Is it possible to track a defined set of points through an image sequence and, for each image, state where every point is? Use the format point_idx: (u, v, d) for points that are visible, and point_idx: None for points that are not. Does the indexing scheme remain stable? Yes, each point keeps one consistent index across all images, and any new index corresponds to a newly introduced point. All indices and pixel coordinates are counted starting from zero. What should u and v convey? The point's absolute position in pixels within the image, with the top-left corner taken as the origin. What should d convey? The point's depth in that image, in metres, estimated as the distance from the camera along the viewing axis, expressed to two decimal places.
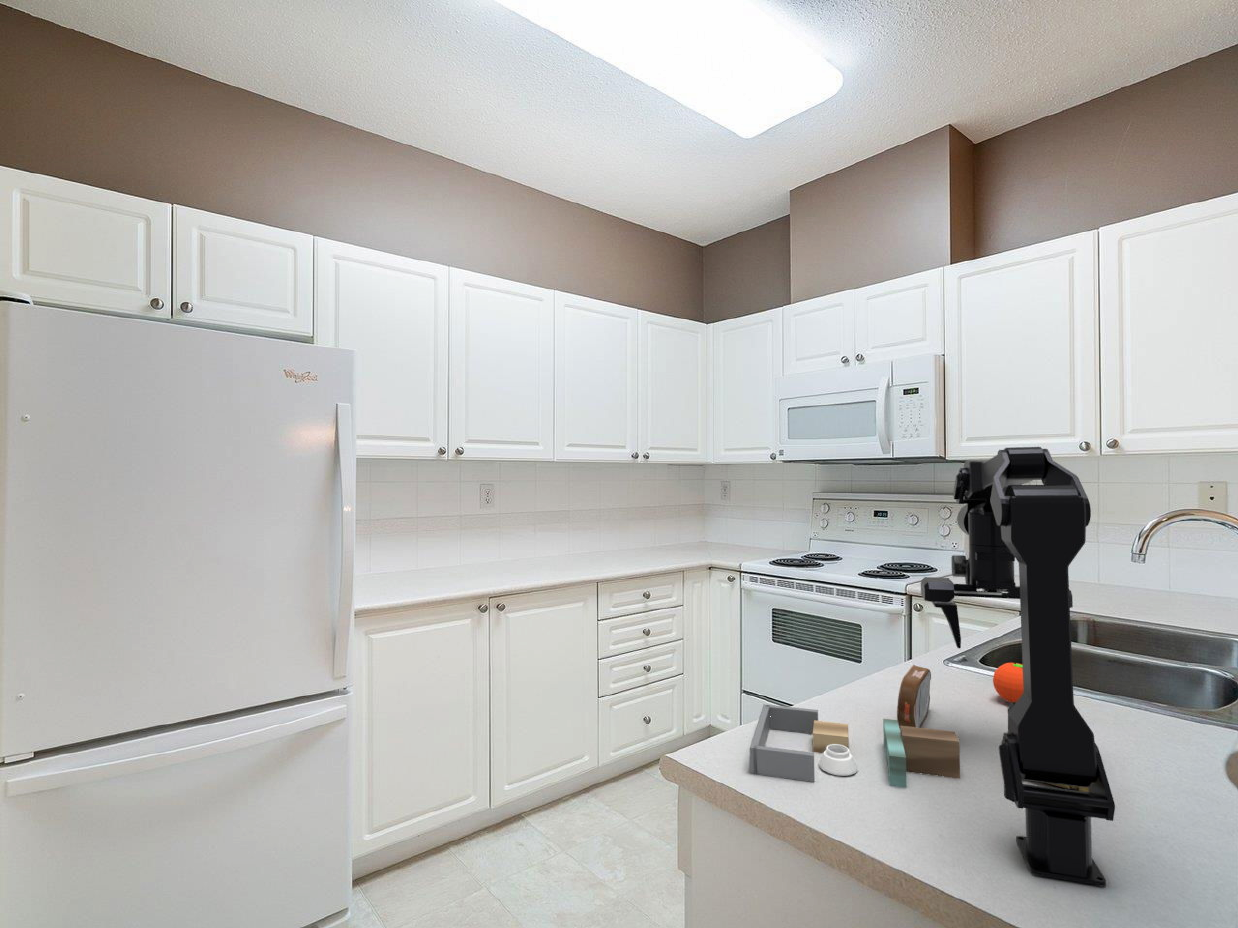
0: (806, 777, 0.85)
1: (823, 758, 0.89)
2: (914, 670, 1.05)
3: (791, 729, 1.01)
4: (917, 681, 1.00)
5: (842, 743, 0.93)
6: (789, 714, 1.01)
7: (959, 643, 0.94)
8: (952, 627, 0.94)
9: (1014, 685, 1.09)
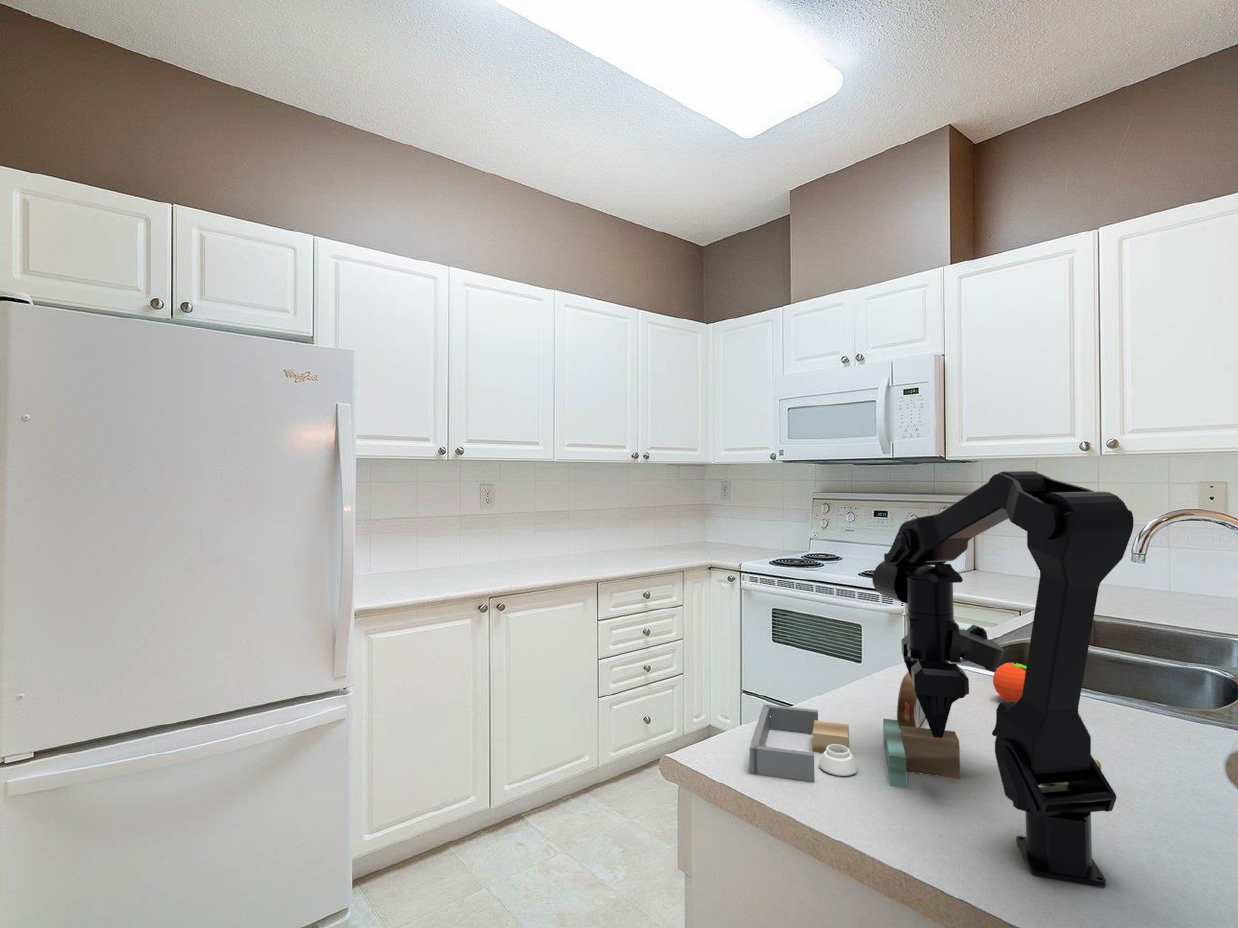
0: (806, 777, 0.85)
1: (823, 758, 0.88)
2: None
3: (791, 729, 1.01)
4: None
5: (842, 743, 0.93)
6: (789, 714, 1.01)
7: None
8: None
9: (1014, 685, 1.09)
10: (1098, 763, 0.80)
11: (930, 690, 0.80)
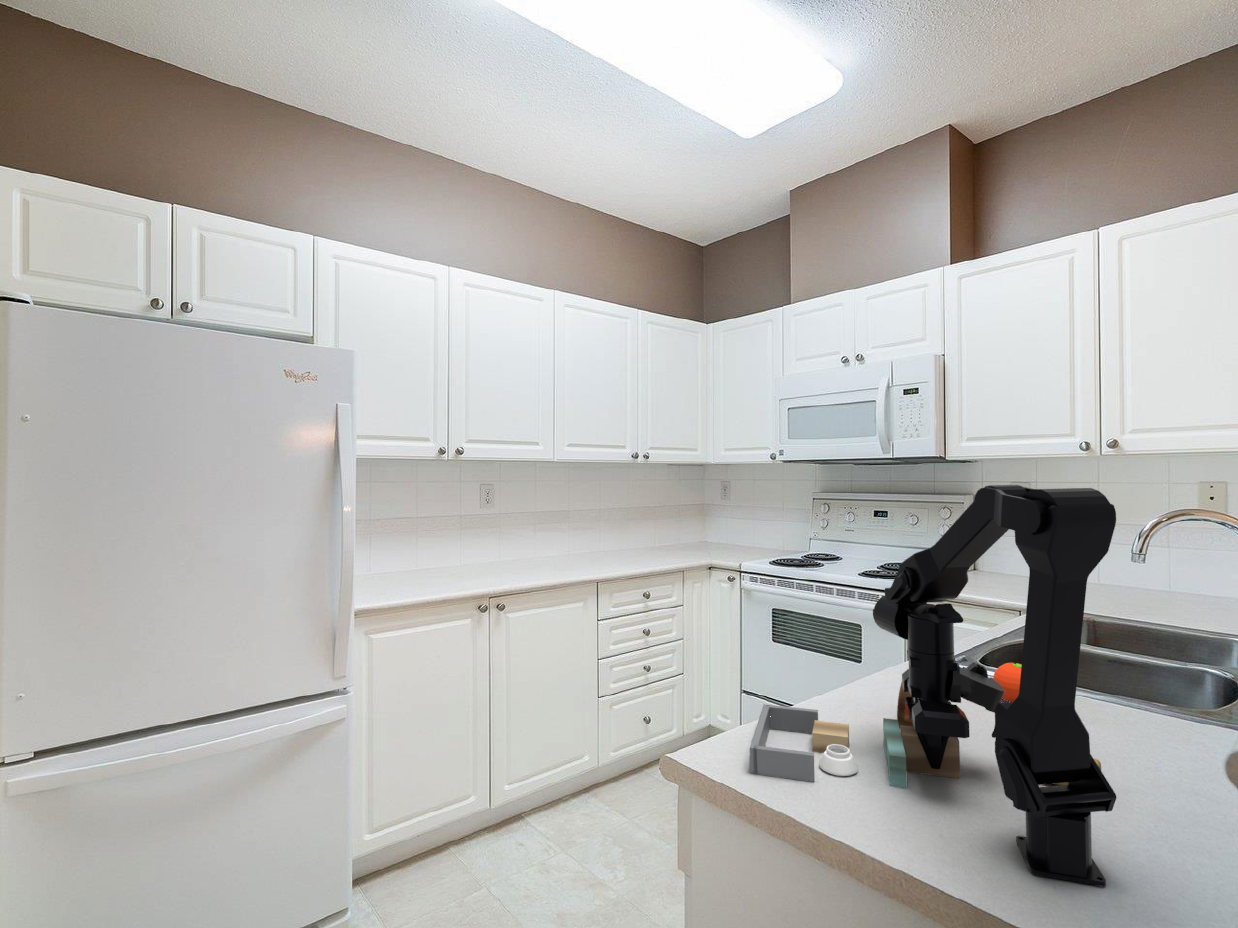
0: (806, 777, 0.85)
1: (823, 758, 0.88)
2: None
3: (791, 729, 1.01)
4: None
5: (841, 743, 0.93)
6: (789, 714, 1.01)
7: None
8: None
9: (1014, 685, 1.09)
10: (1098, 762, 0.81)
11: (930, 733, 0.80)
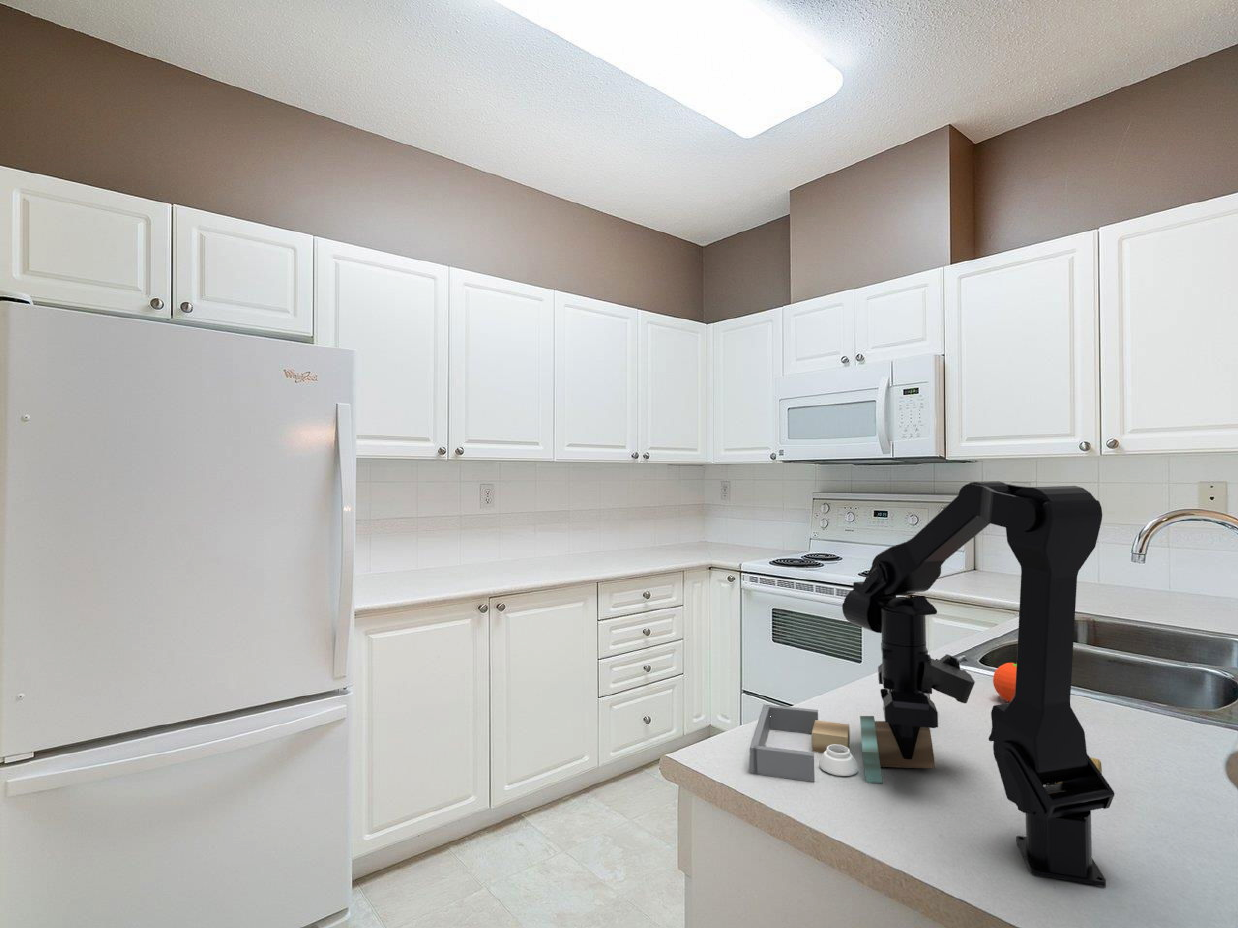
0: (806, 777, 0.85)
1: (823, 758, 0.88)
2: None
3: (791, 729, 1.01)
4: None
5: (841, 743, 0.93)
6: (789, 714, 1.01)
7: None
8: None
9: (1014, 685, 1.09)
10: (1099, 762, 0.81)
11: (900, 723, 0.81)
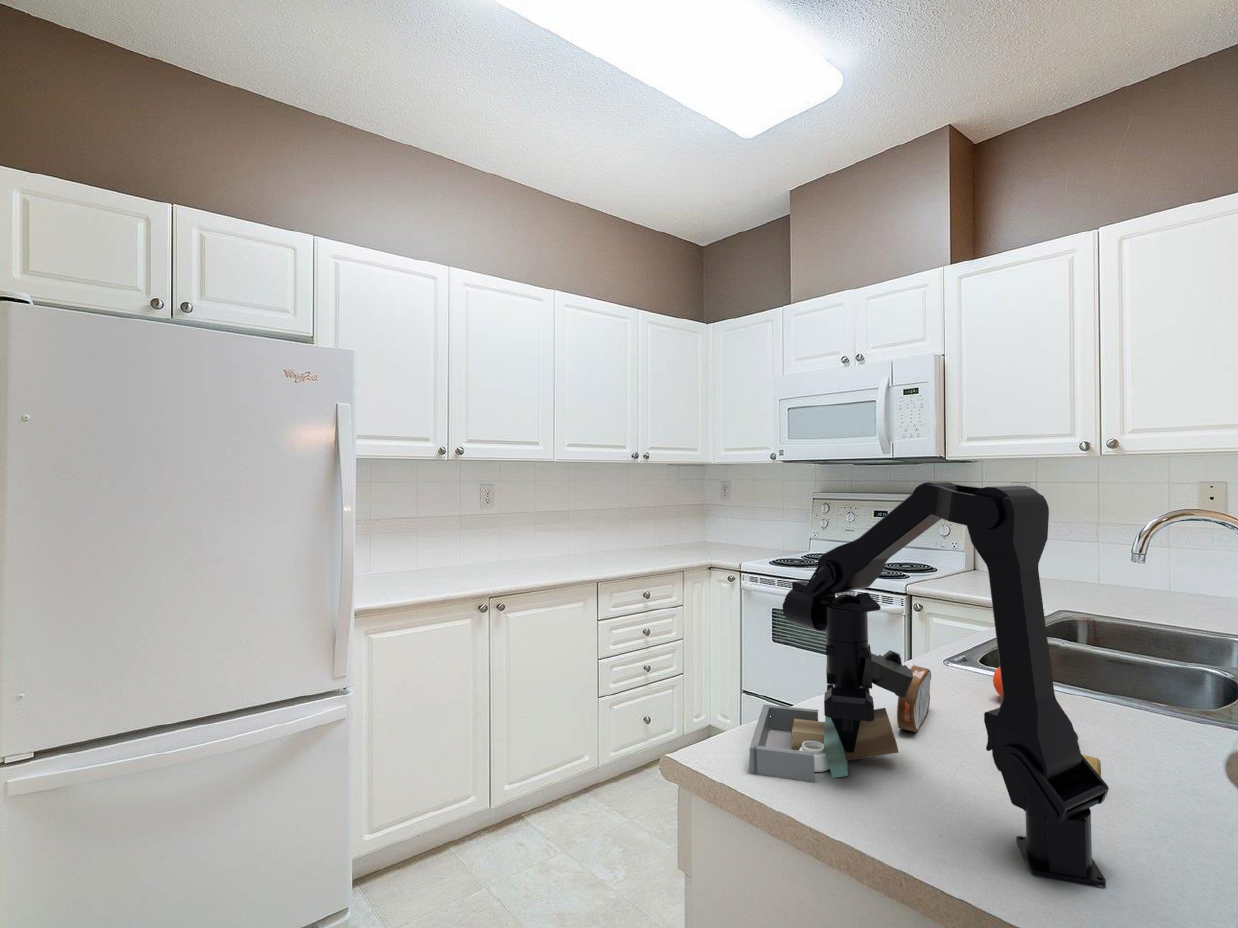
0: (806, 777, 0.85)
1: None
2: (914, 670, 1.05)
3: (791, 729, 1.01)
4: (917, 681, 1.00)
5: (821, 741, 0.94)
6: (789, 714, 1.01)
7: None
8: None
9: None
10: (1098, 761, 0.81)
11: (838, 716, 0.83)
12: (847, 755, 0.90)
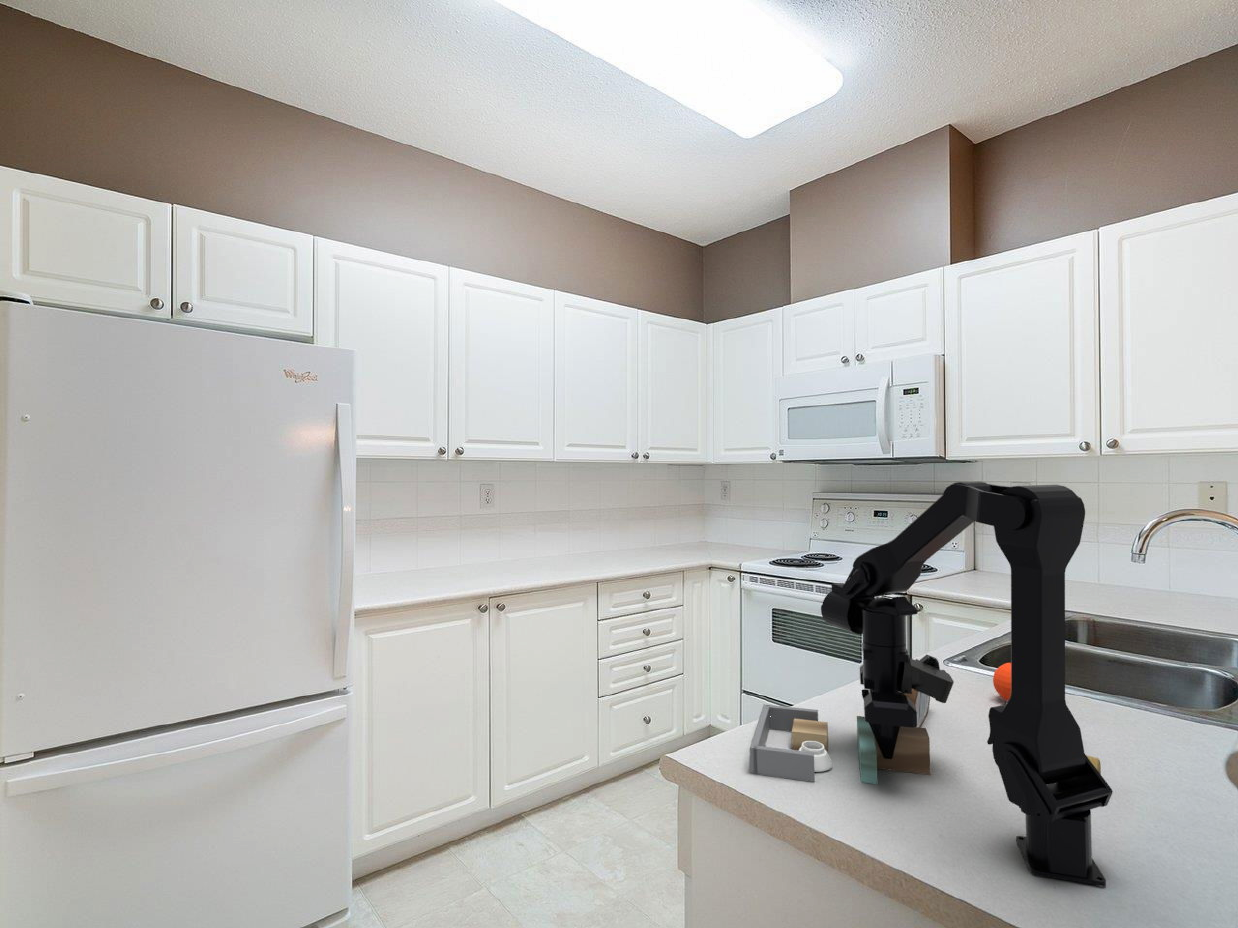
0: (806, 777, 0.85)
1: None
2: None
3: (791, 729, 1.01)
4: None
5: (821, 741, 0.94)
6: (789, 714, 1.01)
7: None
8: None
9: None
10: (1098, 761, 0.81)
11: (880, 722, 0.81)
12: (876, 763, 0.88)
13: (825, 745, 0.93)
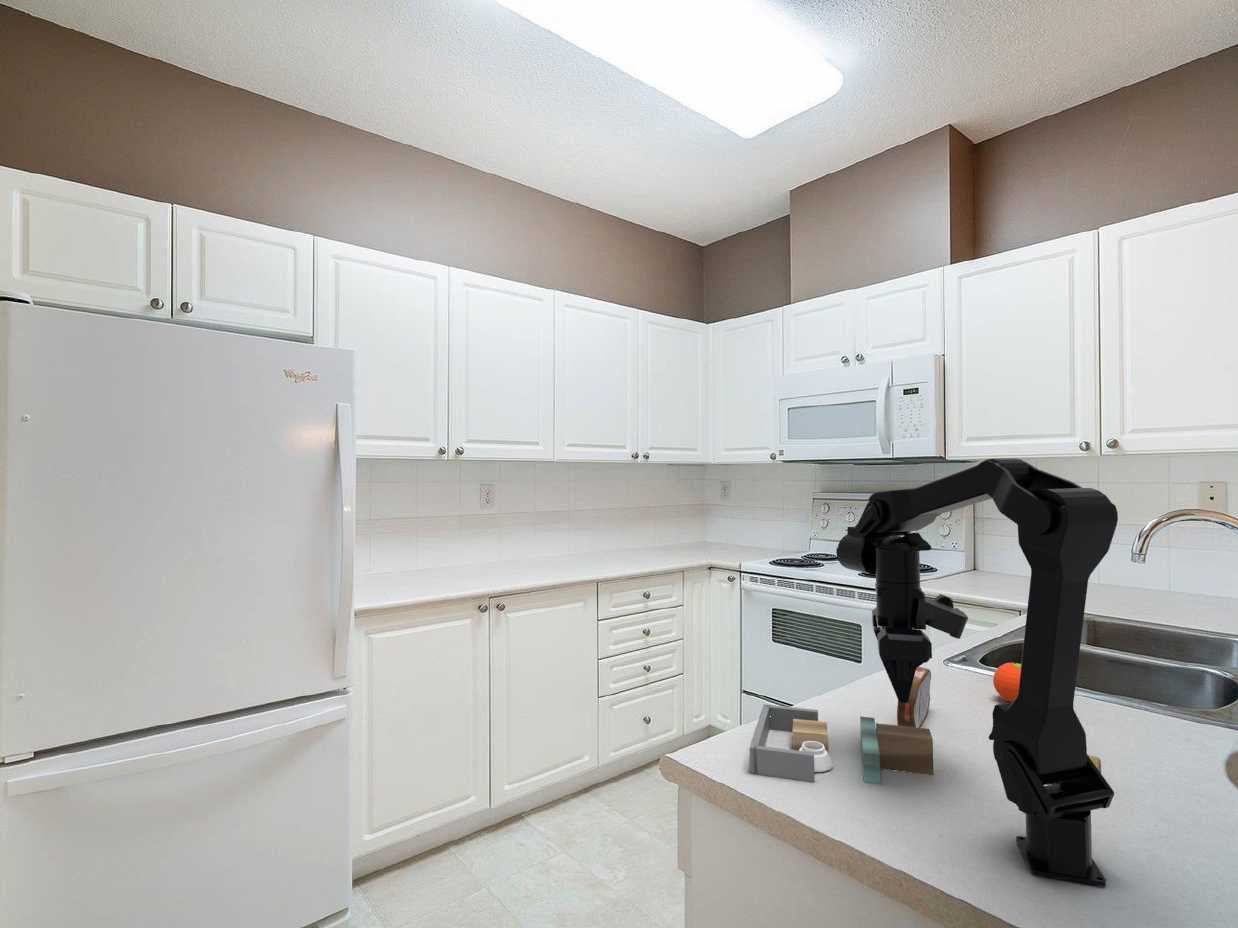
0: (806, 777, 0.85)
1: None
2: None
3: (791, 729, 1.01)
4: (917, 681, 1.00)
5: (821, 741, 0.94)
6: (789, 714, 1.01)
7: None
8: None
9: (1014, 685, 1.09)
10: (1098, 760, 0.81)
11: (894, 655, 0.81)
12: (879, 764, 0.88)
13: (826, 744, 0.93)
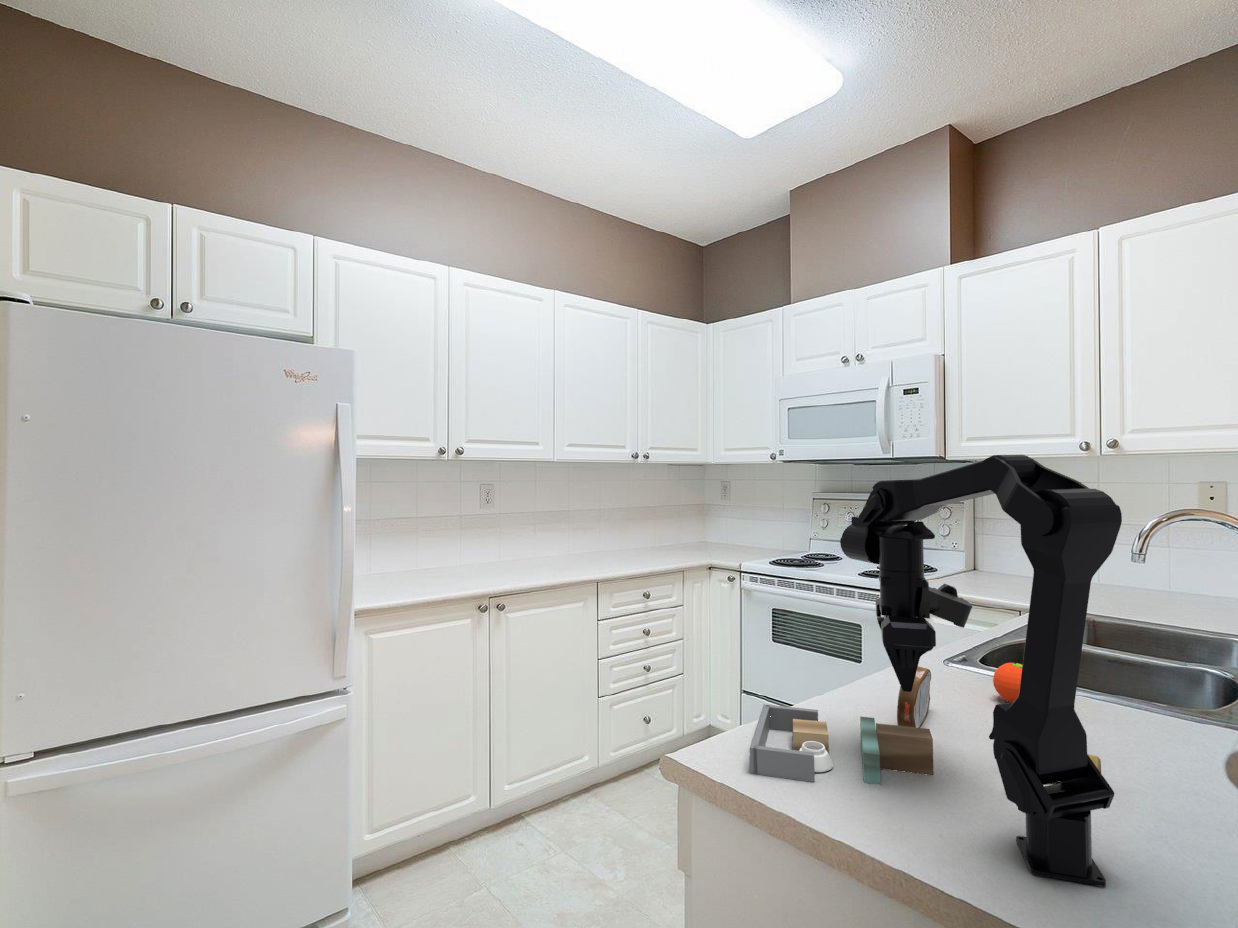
0: (806, 777, 0.85)
1: None
2: None
3: (791, 729, 1.01)
4: (917, 681, 1.00)
5: (822, 741, 0.94)
6: (789, 714, 1.01)
7: None
8: None
9: (1014, 685, 1.09)
10: (1098, 759, 0.81)
11: (898, 643, 0.81)
12: (879, 764, 0.88)
13: (826, 744, 0.93)
